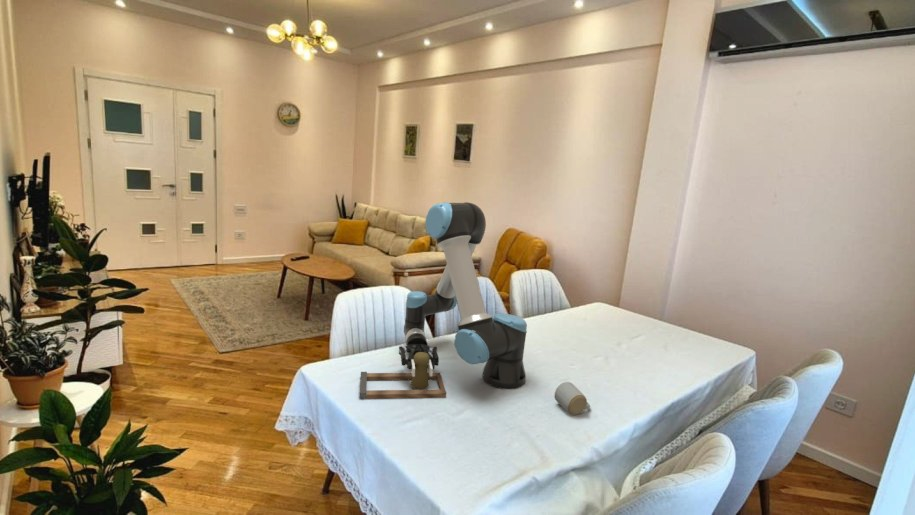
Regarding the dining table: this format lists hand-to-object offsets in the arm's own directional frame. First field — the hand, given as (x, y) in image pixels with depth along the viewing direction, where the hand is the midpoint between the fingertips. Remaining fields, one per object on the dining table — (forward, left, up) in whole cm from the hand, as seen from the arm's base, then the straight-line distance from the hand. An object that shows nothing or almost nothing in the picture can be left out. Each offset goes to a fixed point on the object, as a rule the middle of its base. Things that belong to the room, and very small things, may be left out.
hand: (422, 372), depth 143 cm
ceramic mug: (-48, +10, -8) cm, 49 cm away
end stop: (+18, -5, -8) cm, 20 cm away
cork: (0, -5, -7) cm, 9 cm away
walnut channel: (+5, -5, -8) cm, 10 cm away
